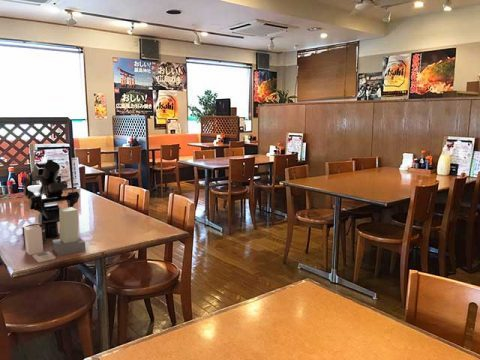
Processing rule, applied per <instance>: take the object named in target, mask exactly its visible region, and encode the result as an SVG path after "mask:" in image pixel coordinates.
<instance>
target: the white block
mask: <svg viewBox="0 0 480 360" xmlns="http://www.w3.org/2000/svg"><path fill="white" fill-rule="evenodd" d="M27 226H28V225H27ZM23 227H24V235H25V244H24V245H25V252H26V253H27V254H28V255H29V256H32V255H35V254H40V253H44V243H43V241H42V230H41V227H40V226H39V225H34V226H28V227H25V226H23Z"/></svg>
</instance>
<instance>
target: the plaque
mask: <svg viewBox="0 0 480 360" xmlns="http://www.w3.org/2000/svg"><path fill="white" fill-rule="evenodd" d="M31 256H32V258H33V259H34V260H35V261H36V262H37V263H38V264H39V263H43V262H47V261H50V260H51V261H52V260H56V256H55V255H54V254H53V253H52V252H50V251H43V252H42V253H37V254H32V255H31Z"/></svg>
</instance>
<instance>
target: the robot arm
mask: <svg viewBox="0 0 480 360" xmlns="http://www.w3.org/2000/svg"><path fill="white" fill-rule="evenodd" d="M60 168H61V166H60V164H59V163H57V162H56V161H53V159H47V161H43V162H35V163H34V166H33V170H32V171H31V172H29V173H27V179H26V180H25V181H24V183H23V194H24V195H23V196H25V198H27V199H28V200H29V203H28V206H29V209H30V210H33V211H37V212H39V213H38V218H37V221H38V224H44V229H45V239H51V238H56V237H60V232H59V224H58V223H60V220H59V209H61V208H62V207H61V208H60V206H59V204H58V202H65V201H66V203H67V208H69V207H73V208H74V205H75V204H77V203H78V202H79V199H80V196H81V195H80V192H78V191H77V190H75V191H68V192H67V195H63V194H64V192H63V191H64V190H66V189H67V188H68V182H67V181H66V180H61V181H60V182H59V181H58V182H57V178H58V176H59V172H60ZM38 181H39V182H40V184H33V185H31V183H32V182H38Z"/></svg>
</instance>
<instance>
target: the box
mask: <svg viewBox="0 0 480 360" xmlns="http://www.w3.org/2000/svg"><path fill="white" fill-rule="evenodd" d="M34 225H39V226H40V227H41V230H42V241H43V242H46V239H47V238H45V229H44V224H40V223H32V224H28V225H26V226H23V227H22V239H23V245H25V235H24V227H28V226H34Z"/></svg>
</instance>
